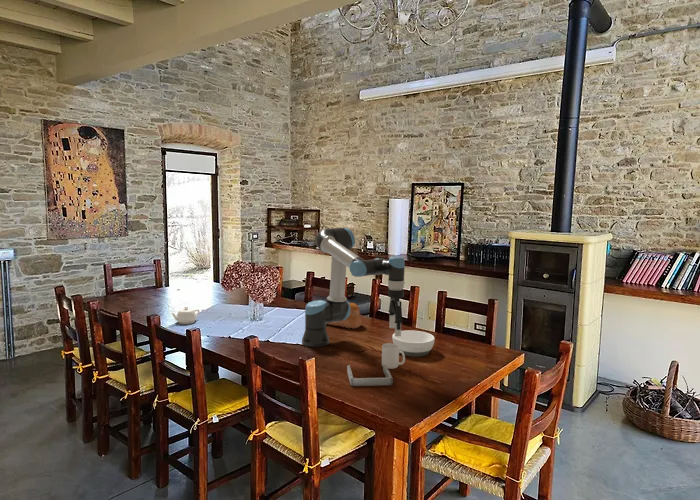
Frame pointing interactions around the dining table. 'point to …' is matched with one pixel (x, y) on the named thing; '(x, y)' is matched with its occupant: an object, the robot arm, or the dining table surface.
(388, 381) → the bracket
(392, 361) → the cup
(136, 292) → the dining table surface
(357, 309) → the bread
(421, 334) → the bowl
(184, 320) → the teapot
